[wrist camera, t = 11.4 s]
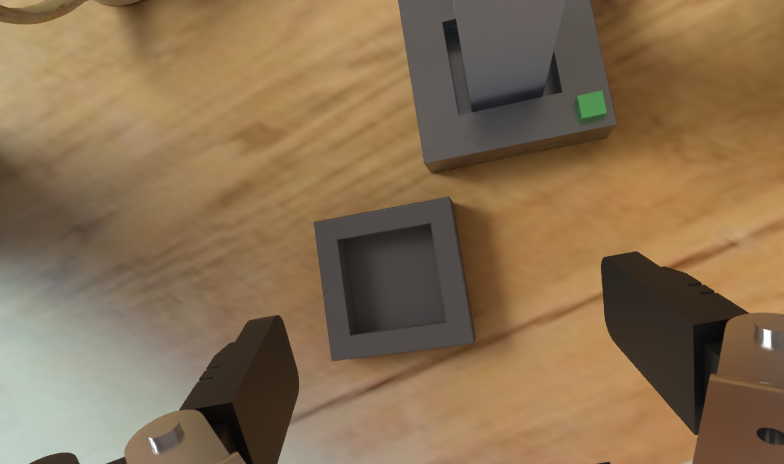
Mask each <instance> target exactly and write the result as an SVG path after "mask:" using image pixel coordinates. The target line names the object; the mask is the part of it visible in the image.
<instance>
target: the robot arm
mask: <svg viewBox="0 0 784 464" xmlns="http://www.w3.org/2000/svg"><path fill="white" fill-rule="evenodd" d="M601 274H602V288H603V301H604V315H605V322H606V326H607V329H608V332H609V334H610V336H611V338H612V340H613V341H614V342H615V344H616V345H617V346H618V347H619V348H620V349H621V351H622V352H623V353H624V354H625V355H626V356H627V357H628V359H629V360H630V361H631V362H632V363H633V364H634V366H635V367H636V368H637V369H638V370H639V371H640V372H641V374H642V375H643V376H644V377H645V378H646V379H647V380H648V382H649V383H650V384H651V385H652V386H653V387H654V389H655V390H656V391H657V392H658V393H659V394H660V395H661V397H662V398H663V399H664V400H665V401H666V402H667V404H668V405H669V406H670V407H671V408H672V409H673V410H674V412H675V413H676V414H677V415H678V416H679V417H680V418H681V420H682V421H683V422H684V423H685V424H686V425H687V427H688V428H689V429H690V430H691V431H692V432H693V433H694V435H698V438H697V443H696V448H695V453H694V458H693V463H692V464H784V315H783V314H776V313H748V312H747V311H745V310H743V309H742V308H740V307H739V306H737V305H736V304H734V303H732V302H731V301H729V300H728V299H726V298H725V297H723V296H721V295H720V294H718V293H714V290H712V289H710V288H709V287H707V286H706V285H702V284H701V282H699V281H698V280H696V279H695V278H693V277H692V276H690V275H688V274H687V273H684V272H681V271H677V270H674V269H671V268H668V267H660V266H658V265H657V264H655V263H654V262H652V261H651V260H649V259H648V258H646V257H645V256H643V255H642V254H640V253H639V252H636V251H635V252H630V253H624V254H618V255H613V256H607V257H604V258H603V259H602V263H601ZM206 369H207V371H204V373H203V374H202V376H201V377H200V379H199V380H200V381H199V382H197V384H196V385H195V387H194V388H193V390H192V391H191V393H190V394H189V396H188V397H187V399H186V400H185V402H184V403H183V405H182V406H181V408H180V409H179V411H176V412H172V413H169V414H166V415H164V416H162V417H160V418H157V419H156V420H154V421H152V422H150V423H149V424H147V425H146V426H144V427H143V428H142V429H140V430H139V431H138V432H137V433H136V434H135V435H134V436H133V437H132V438H131V439H130V441H129V442H128V444H127V446H126V448H125V452H124V453H125V457H123V458H120V459H118V460H115V461H112V462H110V463H107V464H277V463H278V459H279V456H280V453H281V449H282V446H283V443H284V439H285V436H286V433H287V430H288V426H289V423H290V420H291V416H292V413H293V410H294V406H295V403H296V400H297V397H298V392H299V377H298V371H297V367H296V364H295V360H294V357H293V353H292V350H291V346H290V343H289V339H288V336H287V332H286V329H285V325H284V322H283V320H282V318H281V317H280V316H279V315H275V316H270V317H264V318H259V319H253V320H249V321H248V322H247V323H246V325H245V327H244V328H243V330H242V332H241V333H240V335H239V336H238V338H237V340H236V341H235V342H232V343H230V344H228V345H227V346H226V347H225V348H223V349H222V350H221V351H220V352H219V353H217V354H216V355H215V356H214V358H213V359H212V361H211V362H210V364H209V365H208V367H207V368H206ZM30 464H80V463H79V461H78V459H77V457H76V456H75V455H74V454H72V453H57V454H53V455H49V456H46V457H43V458H41V459H38V460H36V461H34V462H32V463H30ZM599 464H610V462H605V463H599Z"/></svg>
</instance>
